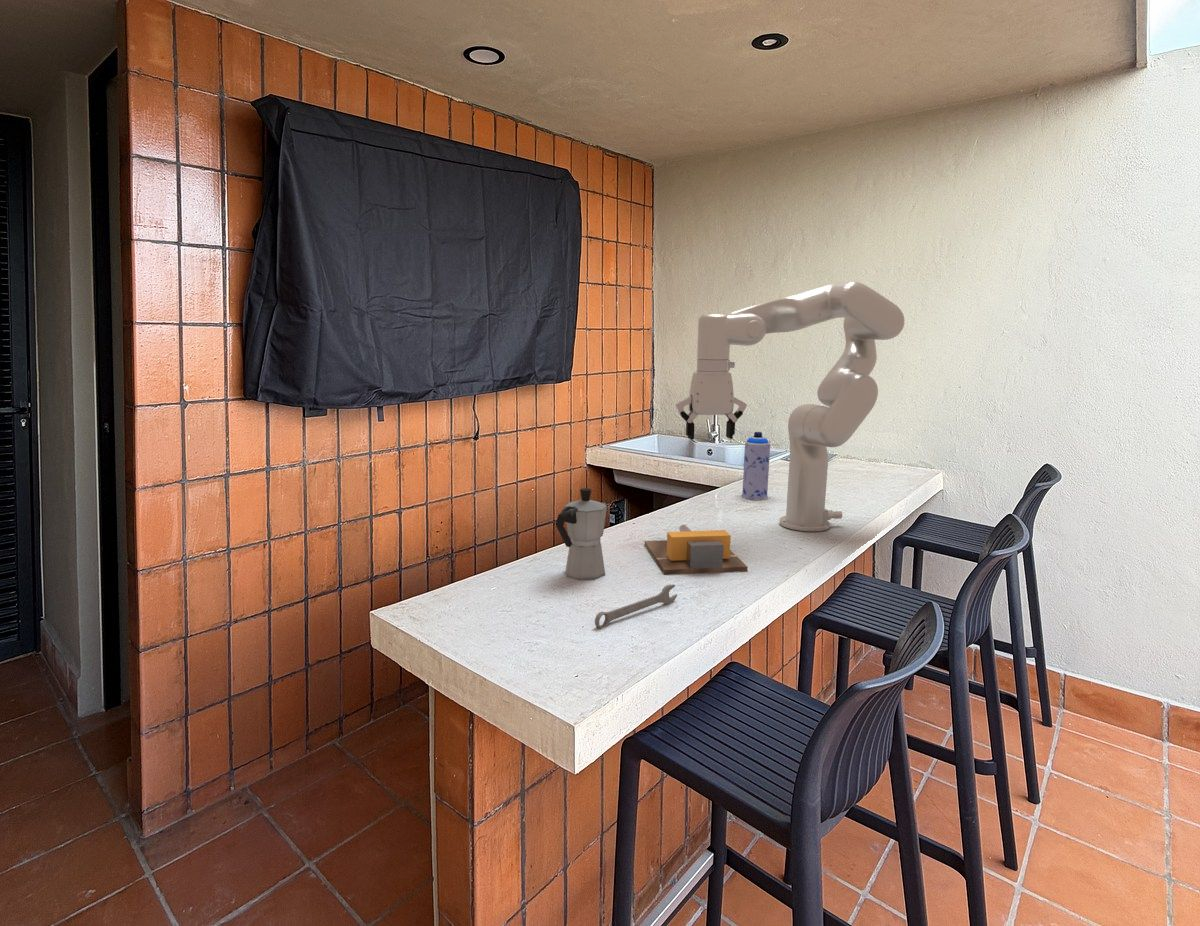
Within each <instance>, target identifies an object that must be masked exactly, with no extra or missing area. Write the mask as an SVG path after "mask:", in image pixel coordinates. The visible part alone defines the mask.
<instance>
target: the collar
mask: <svg viewBox="0 0 1200 926" xmlns="http://www.w3.org/2000/svg"><path fill="white" fill-rule="evenodd" d="M666 534H667V535H666V538H667V539H666V540H667V556H668V557H669V559H670V560H671V561H675V560H687V542H689V541H720V542H721V543H722V544H723V545H724V547H723V559H730V550H731V540H732V539H731V538H732V537H731V536H732V535H731V534H730V533H728V531H727V530H726V529H723V530H722V529H719V530H691V531H680V530H679V531H667V532H666Z"/></svg>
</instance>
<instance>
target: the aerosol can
mask: <svg viewBox="0 0 1200 926" xmlns="http://www.w3.org/2000/svg"><path fill="white" fill-rule="evenodd" d="M770 455H771V443H770V441H769V440H768V439H767V438H766V437H764V436H763V432H762V431H755V432H754V435H752V436H750V437H749V438H748V439H747V440H746V441H745V443H744V457H743V473H742V474H743V475H742V494H741V498H742V499H744V498H745V500H748V499H749V500H748V501H765V500H768V498H769V496H768V491H769V490H768V489H769V471H770V457H771V456H770Z"/></svg>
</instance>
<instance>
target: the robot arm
mask: <svg viewBox="0 0 1200 926" xmlns="http://www.w3.org/2000/svg"><path fill="white" fill-rule="evenodd" d="M838 318H844V319H843V323H842V324H843V331H844V338H845V346H844V347H845V348H844V350H843V353H842V354H841V356H840V357H839V358H838V360H837V361H836V362H835V364H833V366H832V368H831V369H830V370H829V372H828V373H827V374H826V375H825V377H824V378H823V379H822V380H821V382H820V384H819V386H818V389H817V393H816V394H817V399H818V401H819V402H821V403H822V404H823V405H820V404H814V403H806V404H802V405H799V406H796V407H795V408H794V409H793V410H792V412H791V413H790V415H789V417H788V421H787V423H788V425H787V430H788V431H787V432H788V440H789V464H788V465H789V466H788V478H787V479H788V480H787V493H786V494H787V495H786V507H785V508H786V509H785V515H784V516H781V517H780V518H779V524H780V526H782V527H784V528H787V529H789V530H794V531H800V532H822V531H827V530H829V528H830V527H831V524H830V521H831V519H834V520H839V519H842V518H843V512H842V511H838V510H836V511H833V510H832V509H828V508H826V495H827V494H826V493H827V483H828V482H827V480H828V469H829V452H828V448H837V447H840V446H843V445H844V444H845V443H847V442H848V441H849V440H850V438H851V437H852V436H853V435H854V434H855V432H856V431H857V430H858V428H859V426H861V425H862V423H863V422H864V421H865V419H866V418H867V417H868V415H869V414H870V413H871V411H872V410H873V408H874V406H875V404H876V402H877V400H878V396H879V388H878V384H877V382H876V380H875V379H874V378H873V377H872V376H870V375H871V373H872V372H873V370H874V368H875V366H876V363H877V360H878V359H877V357H878V355H877V347H876V340H877V341H882V340H883V341H888V340H893V339H894V338H896V337H897V336H899V335H900V334H901V333H902V331H903V329H904V326H905V315H904V313H903V311H902V309H901V308H900V307H899V306H898V305H897V304H895V303H894V302H892V301H891V300H890V299H888V298H886V297H885V296H884V295H882V294H881V293H879V292H877V291H876V290H874V289H873V288H872V287H869V286H868V285H866V284H864V283H862V282H859V281H855V280H854V281H853V280H852V281H843V282H842V281H840V282H831V283H828V284H824V285H820V286H818V287H814V288H812V289H808V290H805V291H801V292H799V293H795V294H793V295H792V294H791V295H788V296H785V297H781V298H777V299H774V300H770V301H768V302H764V303H759V304H755V305H751V306H749V307H746V308H741V309H739V310H736V311H735V310H734V311H732V312H729V313H726V314H724V313H704V314H701V315H700V316H699V318H698V322H697V323H698V324H697V349H696V352H697V355H696V371H695V372H693V373H692V376H691V381H690V388H689V394H688V395H689V396H688V397H686V398H685V399H682V400H681V401H679V402H677V403H676V404H675V407H676V409H677V412H678V413H679V416H680V417H681V418H683V421H685V424H686V425H685V435H686V436H687V438H688V439H689V440H691V441H693V440H694V439H695V426H696V425H695V423H694V420H695V419H696V418H697V417H698V416H725V417H726V418H727V420H726V424H725V425H726V427H725V429H726V431H725V437H726V438H728V439H730V440H733V439H734V435H735V433H736V423H737V422H738V419H740V418H742V416H743V413H744V411H745V410H746V408H747V406H748V404H747V403H746V402H744V401H742V400H741V399H739V398H736V397H734V396H735V395H734V394H735V393H734V383H733V376H732V373H731V372H730V370H731V369H732V368H735V361H731V359H730V352H731V351H730V347H731V346H747V347H748V346H749V347H750V346H754V345H757V344H758V343H760V342H761V341H762V340H763V339H764V338H765V336H766V335H767V334H775V333H789V332H794V331H795V332H796V331H800V330H803V329H805V328H808V327H812V326H815V325H817V324H820V323H821V324H822V323H823V322H828V321H830V320H834V319H838ZM730 345H731V346H730ZM734 405H737V406H738V408H737V410H736V411H735V412H734V408H735V406H734ZM686 406H688V411H689V412H688V413H687V412H686V411H685V409H684V407H686ZM733 412H734V413H733ZM827 447H828V448H827Z"/></svg>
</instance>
